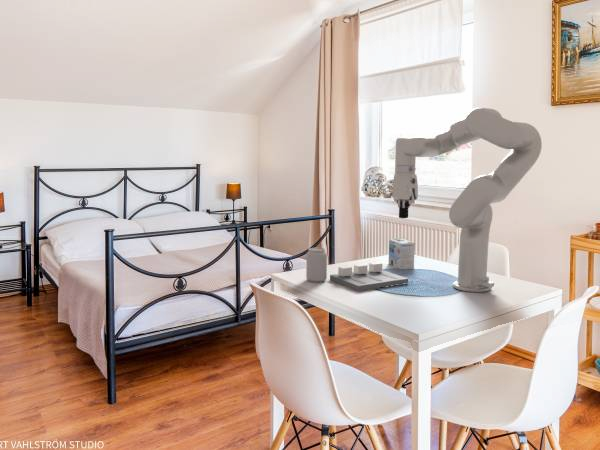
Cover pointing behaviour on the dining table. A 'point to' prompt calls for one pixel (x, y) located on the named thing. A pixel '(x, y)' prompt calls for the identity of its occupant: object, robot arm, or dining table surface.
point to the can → (316, 265)
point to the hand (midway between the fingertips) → (403, 217)
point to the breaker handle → (360, 269)
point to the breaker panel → (367, 278)
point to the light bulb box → (401, 253)
